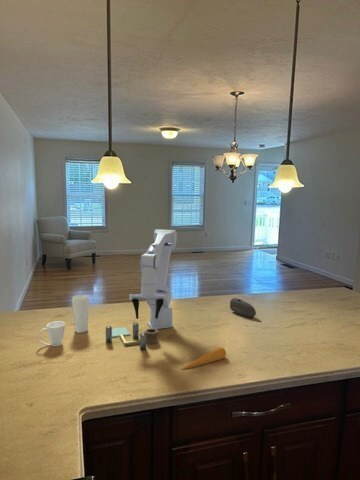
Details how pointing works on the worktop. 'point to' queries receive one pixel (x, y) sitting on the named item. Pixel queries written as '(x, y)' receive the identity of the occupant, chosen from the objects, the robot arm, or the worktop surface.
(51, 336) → the cup
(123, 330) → the pad
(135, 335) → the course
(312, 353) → the worktop surface
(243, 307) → the perforated stone tool
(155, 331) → the octagonal hollow tube
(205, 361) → the carrot
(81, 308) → the drinking glass
